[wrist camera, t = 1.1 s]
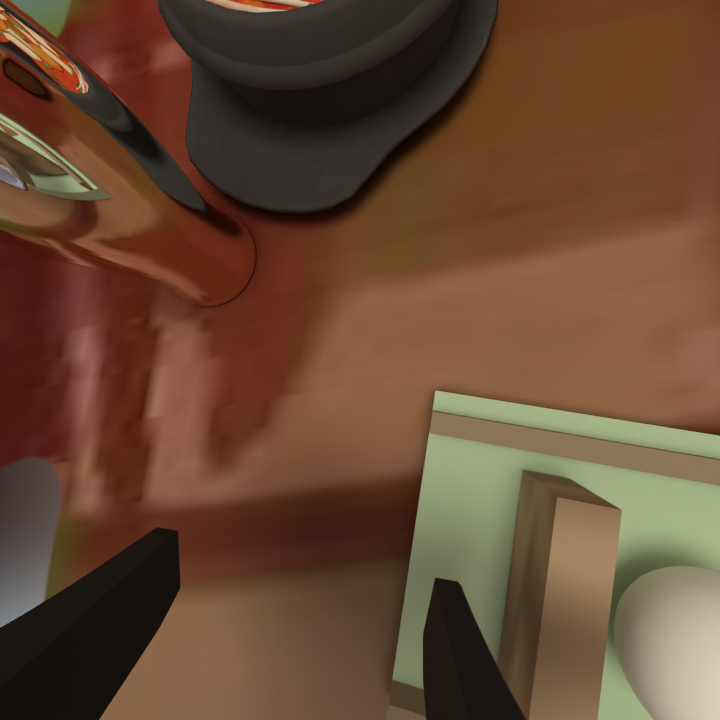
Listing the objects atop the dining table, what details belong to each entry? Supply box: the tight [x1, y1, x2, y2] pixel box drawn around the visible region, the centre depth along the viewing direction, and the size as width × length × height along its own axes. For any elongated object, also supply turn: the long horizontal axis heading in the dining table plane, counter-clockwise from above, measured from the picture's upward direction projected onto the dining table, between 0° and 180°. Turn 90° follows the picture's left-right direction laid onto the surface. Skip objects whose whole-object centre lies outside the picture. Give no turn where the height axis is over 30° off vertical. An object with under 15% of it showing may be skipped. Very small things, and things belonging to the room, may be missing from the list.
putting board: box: [386, 391, 720, 720], centre depth 16 cm, size 16×26×4 cm, turn 81°
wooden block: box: [497, 470, 622, 720], centre depth 15 cm, size 10×2×5 cm, turn 171°
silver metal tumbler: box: [0, 0, 256, 306], centre depth 17 cm, size 7×7×15 cm
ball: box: [614, 566, 720, 720], centre depth 14 cm, size 6×6×6 cm
